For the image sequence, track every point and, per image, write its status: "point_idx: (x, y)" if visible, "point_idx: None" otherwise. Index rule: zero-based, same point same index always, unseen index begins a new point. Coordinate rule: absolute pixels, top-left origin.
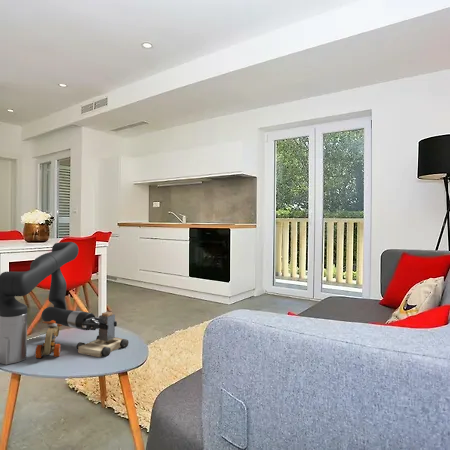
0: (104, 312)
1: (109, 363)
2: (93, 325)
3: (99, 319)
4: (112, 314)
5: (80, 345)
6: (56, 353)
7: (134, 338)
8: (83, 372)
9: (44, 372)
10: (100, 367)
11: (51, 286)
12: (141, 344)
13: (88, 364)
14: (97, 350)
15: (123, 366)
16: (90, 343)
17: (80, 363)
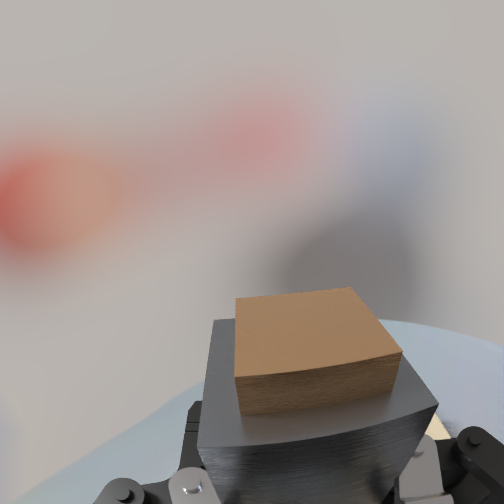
0: (324, 365)
1: (411, 359)
2: (480, 443)
3: (413, 440)
4: (221, 340)
5: None
6: None
7: (79, 472)
8: (494, 346)
9: None
10: (447, 350)
11: None
12: (163, 409)
13: (476, 385)
14: (435, 415)
15: (385, 325)
16: None
17: (499, 406)
